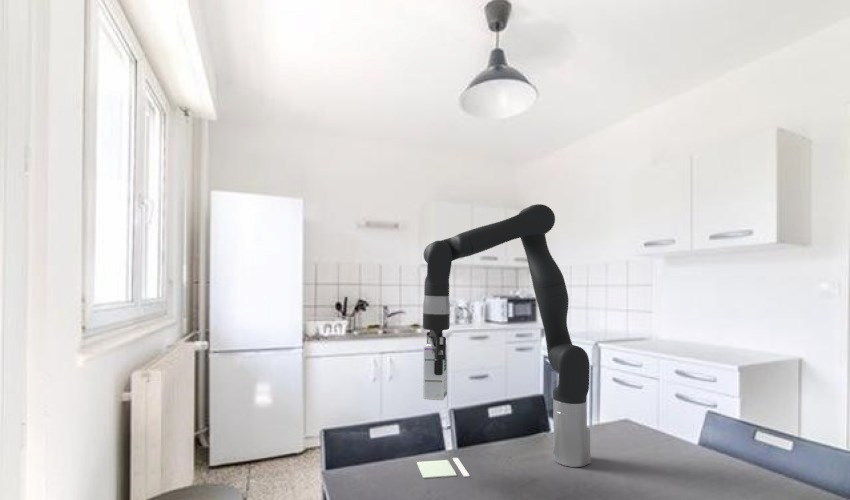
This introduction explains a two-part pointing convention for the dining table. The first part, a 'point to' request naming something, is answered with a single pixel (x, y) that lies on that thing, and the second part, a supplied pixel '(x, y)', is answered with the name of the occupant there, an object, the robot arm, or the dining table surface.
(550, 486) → the dining table surface
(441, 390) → the syrup box
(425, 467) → the mat
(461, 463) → the white line strip
